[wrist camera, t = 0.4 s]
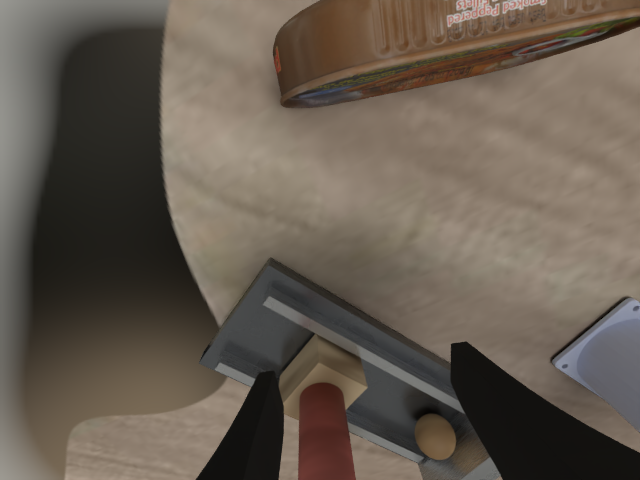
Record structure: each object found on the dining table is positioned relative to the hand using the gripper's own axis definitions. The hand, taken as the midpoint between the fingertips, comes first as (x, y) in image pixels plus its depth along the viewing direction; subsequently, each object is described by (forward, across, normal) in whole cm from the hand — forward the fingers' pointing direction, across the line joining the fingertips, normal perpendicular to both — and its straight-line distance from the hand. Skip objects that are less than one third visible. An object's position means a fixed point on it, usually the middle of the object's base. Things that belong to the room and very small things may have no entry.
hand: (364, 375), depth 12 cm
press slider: (+9, +3, +8) cm, 12 cm away
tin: (+10, -6, -12) cm, 17 cm away
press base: (+10, -1, +11) cm, 15 cm away
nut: (+7, -6, +16) cm, 18 cm away
